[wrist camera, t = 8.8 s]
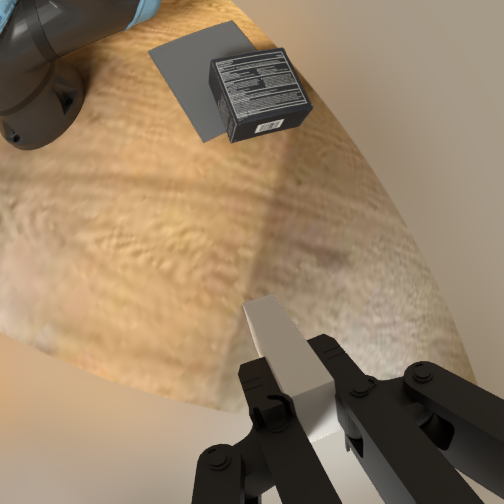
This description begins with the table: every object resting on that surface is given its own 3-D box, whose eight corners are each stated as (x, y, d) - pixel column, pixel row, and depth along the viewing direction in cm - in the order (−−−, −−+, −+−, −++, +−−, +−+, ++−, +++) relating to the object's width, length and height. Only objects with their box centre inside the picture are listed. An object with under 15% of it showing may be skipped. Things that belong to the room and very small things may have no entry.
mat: (148, 52, 40) (147, 51, 40) (231, 21, 43) (231, 20, 43) (203, 142, 41) (203, 142, 40) (294, 102, 43) (295, 101, 43)
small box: (300, 128, 43) (274, 69, 43) (315, 108, 37) (285, 45, 36) (229, 145, 41) (207, 83, 41) (235, 125, 35) (209, 57, 35)
